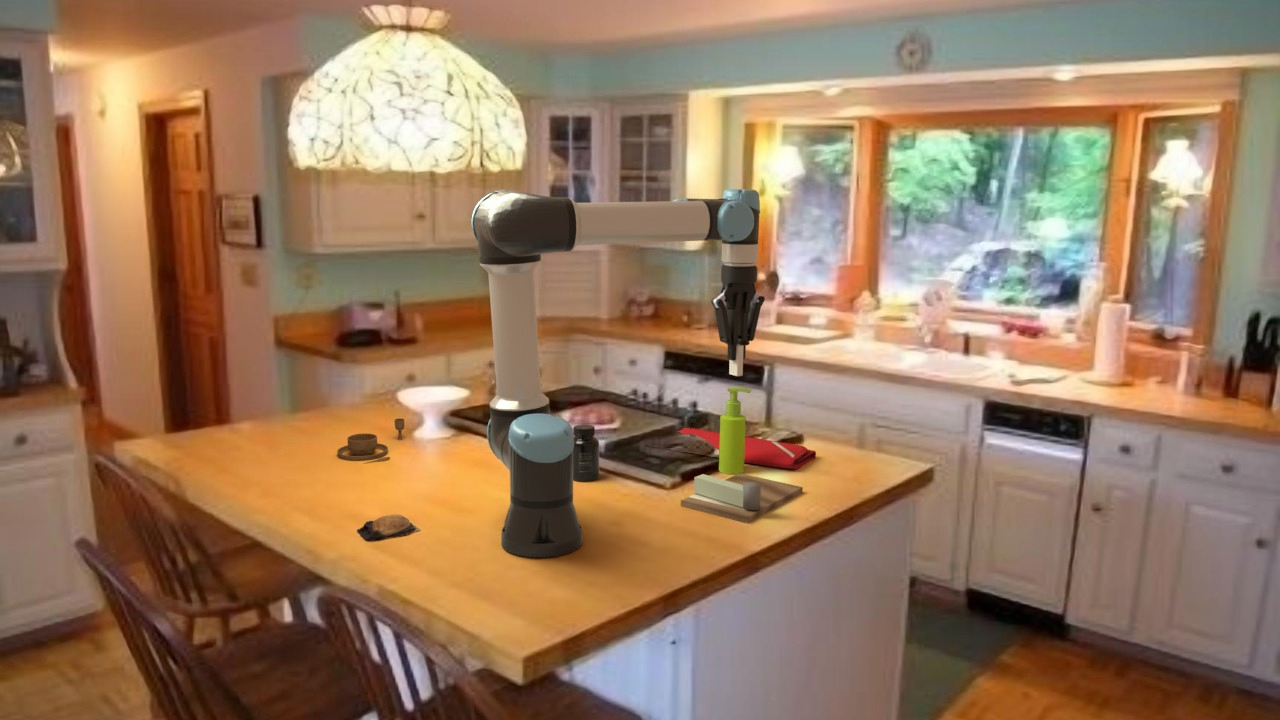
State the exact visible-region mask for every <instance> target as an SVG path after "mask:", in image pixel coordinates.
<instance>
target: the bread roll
mask: <svg viewBox="0 0 1280 720" xmlns="http://www.w3.org/2000/svg"><path fill="white" fill-rule="evenodd" d="M419 532H421V529H420V528H419V527H417V525H415V524H414V523H412V522H411V521H410V520H409V519H408V518H407V517H405V516H404V515H402V514H397V513H396V514H390V515H389V514H388V515H383V516H380V517H378V518H376V519H374V520H368V521H365V523H364V524H363V526H362V527H360V528H358V529H356V533H358V535H359V536H361V538H362V539H363V541H368V542H369V543H375V542H376V543H377V542H381V541H385V540H390V539H395V538H399V537H403V536H408V535H411V534H414V533H419Z"/></svg>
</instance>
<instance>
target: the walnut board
mask: <svg viewBox="0 0 1280 720" xmlns="http://www.w3.org/2000/svg"><path fill="white" fill-rule="evenodd" d="M725 480H726V481H730V482H733V483H737V484H740V485H743V484H744V483H746V482H757V483H760V484H761V498H760V509H758V510H747V509H744V508H742V507H739V506H736V505H732V504H729V503H726V502H723V501H719V500H716V499H713V498H709V497H706V496H703V495H699V494H696V493H693V494H691V495H689V496H688V497H685V498H683V499H681V500H680V507H684V508H687V509H691V510H696V511H699V512H703V513H707V514H709V515H715V516H718V517H723V518H725V519H730V520H733V521H737V522H742V523H746V524H748V523H750V522H752V521H754V520H756V519H757V518H759V517H761V516H763V515H764V514H766V513H768V512H769V511H772V510H773V509H775V508H777V507H779V506H781V505H782V504H784V503H786V502H788V501H790V500H791V499H794V498H795V497H797V496H799V495H800V494H803V488H804V487H803V486H801V485H800V486H798V485H794V484H790V483H786V482H782V481H777V480H772V479H767V478H763V477H758V476H755V475H749V474H745V473H739V474H734V475H733V476H730V477H729V478H727V479H726V478H725Z"/></svg>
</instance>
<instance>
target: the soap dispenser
mask: <svg viewBox="0 0 1280 720" xmlns="http://www.w3.org/2000/svg"><path fill="white" fill-rule="evenodd" d="M727 392H730V393H729V399H728V400H727V401H726V402H725V414H721V415H720V421H719V422H720V423H719V432H720V447H719V459H718V471H719V472H720V473H722V474H726V475H737V474H739V473H741V474H744V471H745V462H744V453H745V437H746V425H747V424H746V418H747V417H746V415H743V414H742V413H741V409H742V408H741V407H742V406H741V405H742V402H741V401H739V400H738V395H739V394H738V392H739V393H741V392H742V393H747V394H750V393H751V392H752V389H749V388H746V387H742V386H741V387H740V386H729V387H728V388H727Z"/></svg>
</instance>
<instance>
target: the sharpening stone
mask: <svg viewBox="0 0 1280 720" xmlns="http://www.w3.org/2000/svg"><path fill="white" fill-rule="evenodd" d="M693 479H694V481H693V482H694V483H693V484H694V486H693V494H695V493H696V494H699V495H703V496H706V497H709V498H713V499H716V500H719V501H723V502H726V503H729V504H732V505H736V506H739V507H742V508H744V509H747V510H758V509H760V498H761V484H760V483H757V482H746V483H744V484H743V485H740V484H737V483H733V482H730V481H726V479H722V478H719V477H715V476H711V475H707V474H704V473H702V474H700V475H697V476H694V478H693Z"/></svg>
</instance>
